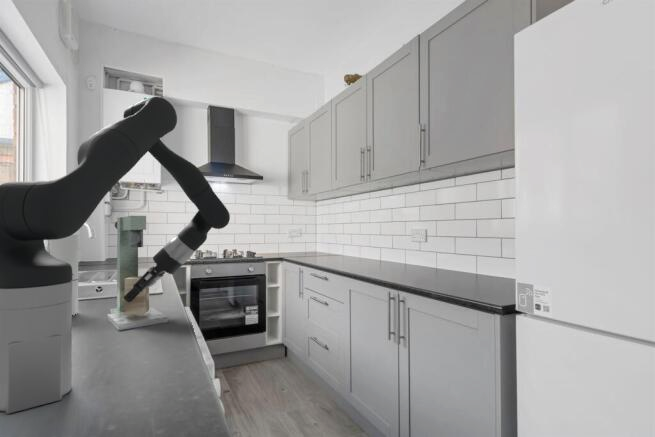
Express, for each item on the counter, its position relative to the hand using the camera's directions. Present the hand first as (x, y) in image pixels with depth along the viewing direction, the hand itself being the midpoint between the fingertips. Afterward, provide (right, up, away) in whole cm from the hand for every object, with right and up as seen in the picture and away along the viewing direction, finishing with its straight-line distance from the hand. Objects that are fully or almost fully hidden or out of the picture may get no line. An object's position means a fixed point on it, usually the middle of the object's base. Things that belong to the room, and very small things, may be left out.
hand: (130, 298), depth 99 cm
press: (-4, -7, +7) cm, 10 cm away
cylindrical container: (-26, -8, +9) cm, 28 cm away
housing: (+2, -4, 0) cm, 5 cm away
